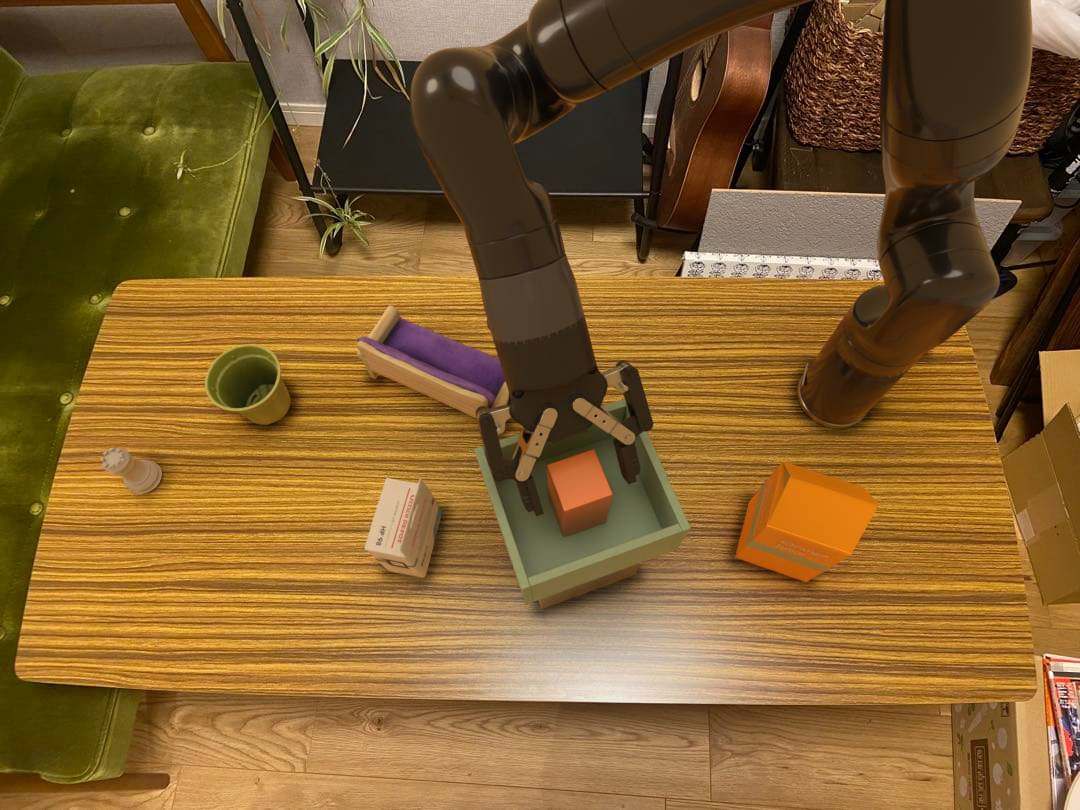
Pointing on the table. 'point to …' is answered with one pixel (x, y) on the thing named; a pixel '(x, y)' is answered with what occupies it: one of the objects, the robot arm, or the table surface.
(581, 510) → the orange rectangular block
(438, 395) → the toy sofa
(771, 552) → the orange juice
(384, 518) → the ink box
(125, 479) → the rook chess piece
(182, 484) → the table surface
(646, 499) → the square open-top tray
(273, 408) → the plant pot
